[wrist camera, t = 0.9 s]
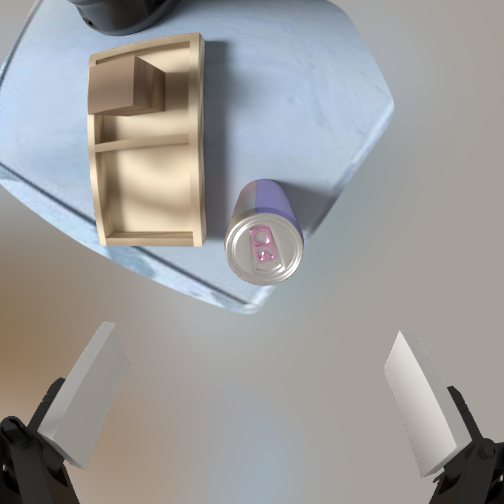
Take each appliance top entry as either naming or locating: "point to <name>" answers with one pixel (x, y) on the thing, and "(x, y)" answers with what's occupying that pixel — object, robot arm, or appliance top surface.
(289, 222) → the beverage can
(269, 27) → the appliance top surface
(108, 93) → the walnut block
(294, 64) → the appliance top surface
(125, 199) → the rack
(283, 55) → the appliance top surface
